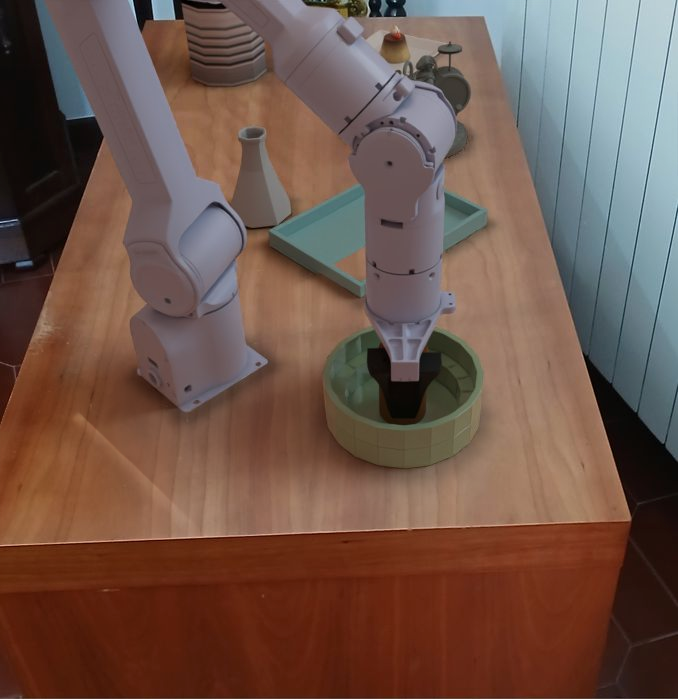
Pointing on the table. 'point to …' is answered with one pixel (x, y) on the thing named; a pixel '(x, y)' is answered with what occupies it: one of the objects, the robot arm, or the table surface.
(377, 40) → the dessert
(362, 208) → the tray
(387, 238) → the robot arm
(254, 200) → the flask
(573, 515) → the table surface
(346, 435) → the bowl
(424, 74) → the figurine
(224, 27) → the can
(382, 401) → the brown cylinder
